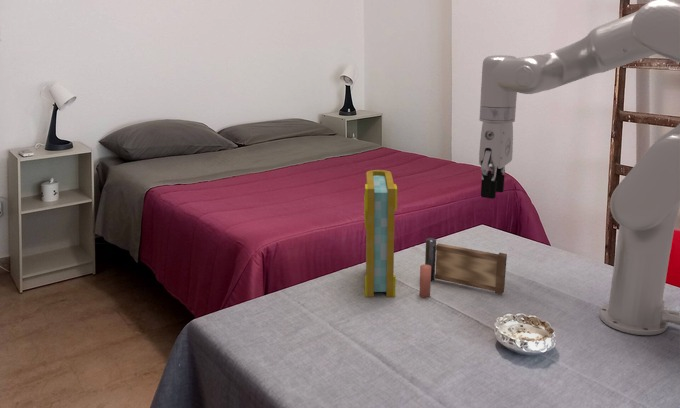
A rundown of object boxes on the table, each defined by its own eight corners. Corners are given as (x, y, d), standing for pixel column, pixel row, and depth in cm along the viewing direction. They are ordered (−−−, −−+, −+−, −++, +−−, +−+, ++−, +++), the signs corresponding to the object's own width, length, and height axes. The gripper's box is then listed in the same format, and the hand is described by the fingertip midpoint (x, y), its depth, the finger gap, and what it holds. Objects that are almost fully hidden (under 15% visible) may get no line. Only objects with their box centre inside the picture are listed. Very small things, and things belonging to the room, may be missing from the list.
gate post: (436, 278, 147) (437, 239, 144) (432, 282, 145) (433, 242, 142) (427, 276, 148) (428, 237, 145) (422, 280, 146) (424, 240, 143)
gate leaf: (504, 292, 138) (506, 254, 136) (501, 294, 137) (504, 256, 134) (437, 277, 146) (438, 241, 143) (434, 280, 145) (436, 243, 142)
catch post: (431, 294, 138) (432, 265, 136) (427, 298, 136) (428, 269, 134) (421, 292, 139) (422, 263, 137) (417, 296, 137) (418, 267, 135)
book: (395, 296, 137) (397, 188, 130) (365, 296, 138) (365, 188, 130) (390, 267, 154) (392, 169, 146) (363, 267, 154) (364, 169, 146)
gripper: (502, 120, 125) (497, 206, 130) (525, 110, 139) (519, 187, 144) (467, 118, 129) (463, 201, 134) (492, 108, 143) (487, 183, 148)
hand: (492, 193), depth 139 cm, fingers open, 5 cm apart
